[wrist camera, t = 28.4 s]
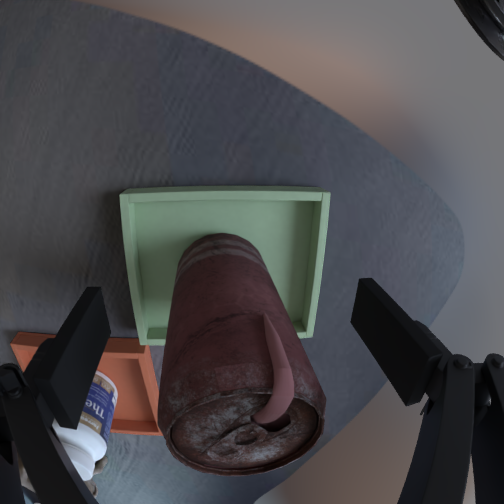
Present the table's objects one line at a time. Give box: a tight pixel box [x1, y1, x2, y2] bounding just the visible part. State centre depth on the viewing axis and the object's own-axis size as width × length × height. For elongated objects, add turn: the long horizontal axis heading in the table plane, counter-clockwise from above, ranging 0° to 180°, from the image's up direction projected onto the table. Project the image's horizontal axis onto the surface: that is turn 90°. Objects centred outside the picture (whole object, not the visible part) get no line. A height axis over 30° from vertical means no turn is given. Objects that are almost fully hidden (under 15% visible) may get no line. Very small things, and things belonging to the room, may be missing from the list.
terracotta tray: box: [10, 332, 163, 436], centre depth 24 cm, size 13×11×2 cm
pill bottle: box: [52, 370, 118, 481], centre depth 20 cm, size 5×5×10 cm
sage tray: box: [119, 186, 330, 345], centre depth 21 cm, size 13×11×2 cm
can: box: [157, 233, 326, 476], centre depth 15 cm, size 6×6×14 cm
